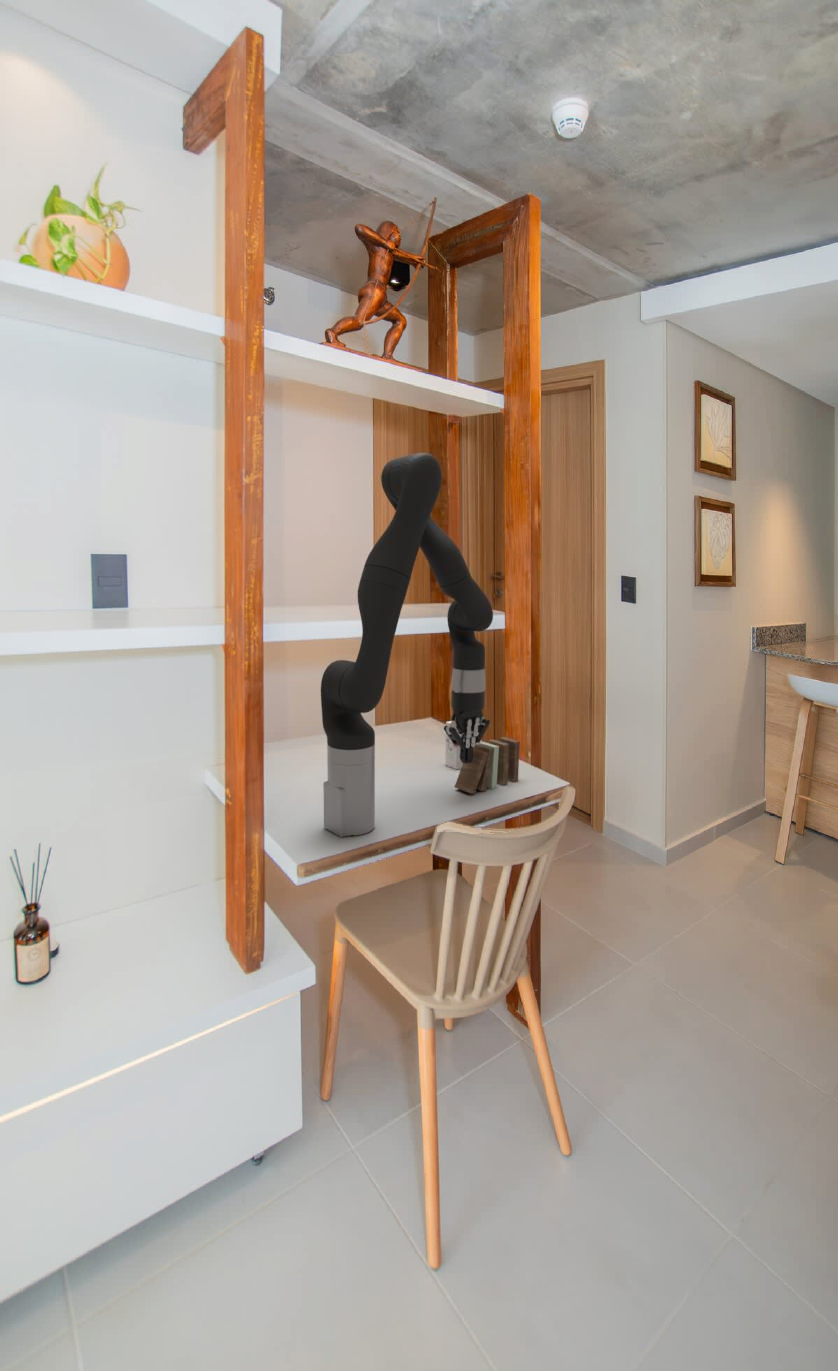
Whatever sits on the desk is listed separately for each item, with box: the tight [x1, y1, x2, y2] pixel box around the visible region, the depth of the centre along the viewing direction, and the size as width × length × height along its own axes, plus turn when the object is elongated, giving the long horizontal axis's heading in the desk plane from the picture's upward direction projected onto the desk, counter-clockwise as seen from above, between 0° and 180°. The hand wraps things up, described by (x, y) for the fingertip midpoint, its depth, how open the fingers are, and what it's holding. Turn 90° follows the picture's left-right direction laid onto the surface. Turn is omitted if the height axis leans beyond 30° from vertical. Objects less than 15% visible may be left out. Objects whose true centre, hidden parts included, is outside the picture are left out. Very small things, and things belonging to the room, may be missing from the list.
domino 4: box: [499, 736, 521, 783], centre depth 160 cm, size 2×5×10 cm, turn 41°
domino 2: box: [474, 744, 494, 792], centre depth 154 cm, size 2×5×10 cm, turn 42°
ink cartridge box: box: [445, 720, 483, 770], centre depth 171 cm, size 9×5×15 cm, turn 126°
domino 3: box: [488, 739, 509, 786], centre depth 158 cm, size 2×5×10 cm, turn 41°
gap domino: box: [479, 741, 499, 790], centre depth 156 cm, size 2×5×10 cm, turn 41°
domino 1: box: [454, 748, 489, 795], centre depth 152 cm, size 2×5×10 cm, turn 41°
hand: (466, 762), depth 151 cm, fingers closed
